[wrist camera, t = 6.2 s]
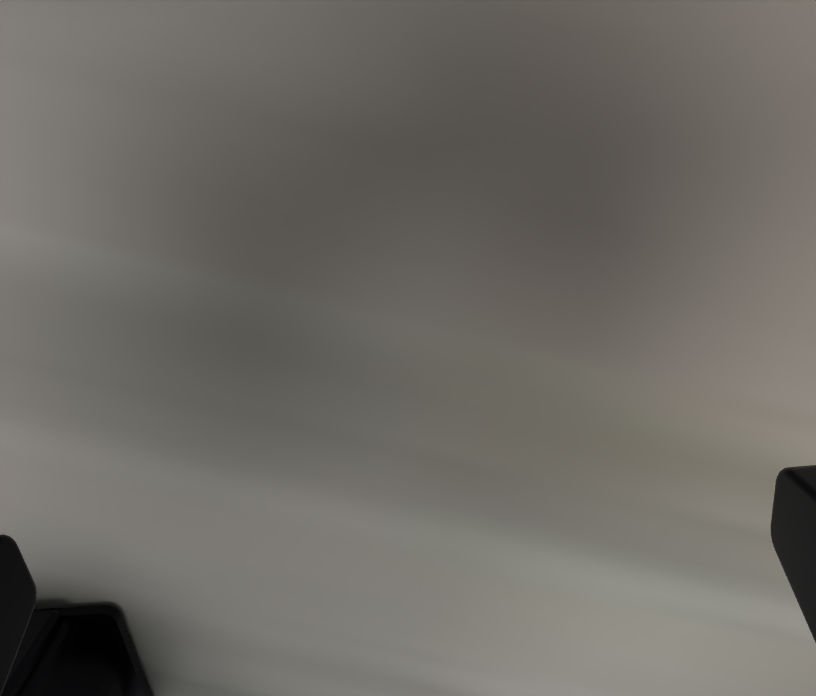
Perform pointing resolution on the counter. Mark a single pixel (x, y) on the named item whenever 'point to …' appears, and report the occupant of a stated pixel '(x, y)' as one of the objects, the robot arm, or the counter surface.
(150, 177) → the counter surface
